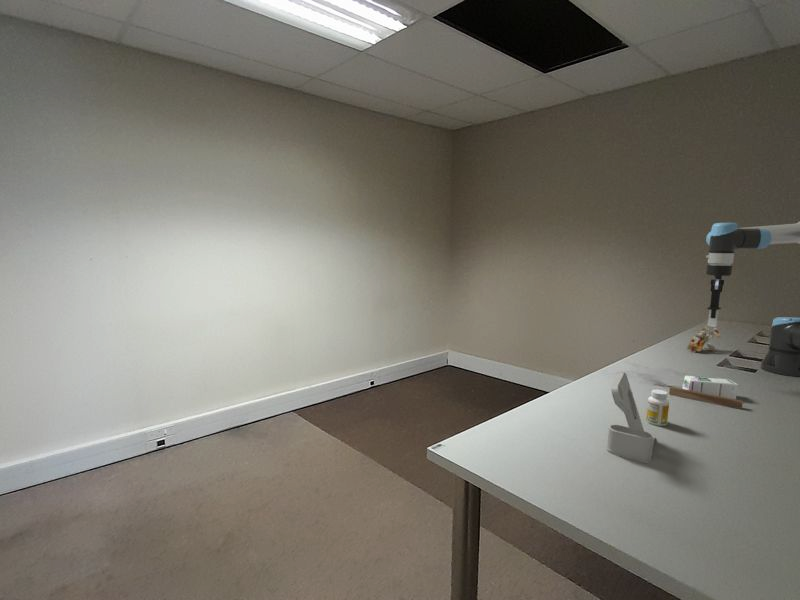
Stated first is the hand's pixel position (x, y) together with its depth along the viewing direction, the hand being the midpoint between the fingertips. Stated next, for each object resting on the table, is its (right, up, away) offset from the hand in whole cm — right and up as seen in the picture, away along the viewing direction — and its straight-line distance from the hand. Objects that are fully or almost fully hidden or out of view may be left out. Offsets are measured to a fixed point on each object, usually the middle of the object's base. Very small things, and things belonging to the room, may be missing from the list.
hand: (711, 326), depth 156 cm
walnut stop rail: (-15, -25, -16) cm, 33 cm away
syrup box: (-2, -21, -13) cm, 25 cm away
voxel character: (+31, -16, +45) cm, 57 cm away
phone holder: (-57, -29, -46) cm, 79 cm away
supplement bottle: (-42, -27, -33) cm, 60 cm away
